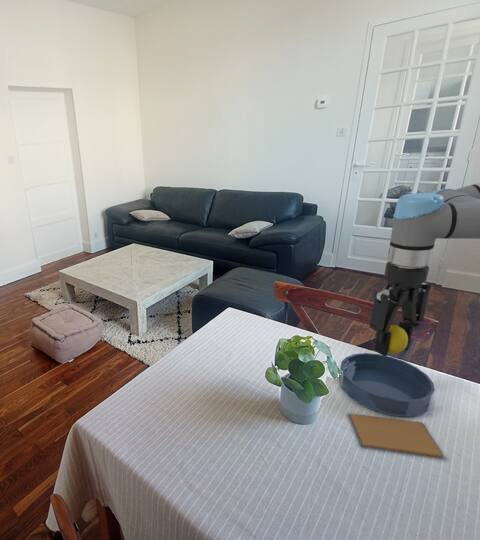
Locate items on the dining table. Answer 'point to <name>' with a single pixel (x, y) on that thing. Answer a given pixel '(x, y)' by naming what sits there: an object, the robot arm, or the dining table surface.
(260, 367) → the dining table surface
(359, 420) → the cork mat
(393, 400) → the bowl
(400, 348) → the lemon
